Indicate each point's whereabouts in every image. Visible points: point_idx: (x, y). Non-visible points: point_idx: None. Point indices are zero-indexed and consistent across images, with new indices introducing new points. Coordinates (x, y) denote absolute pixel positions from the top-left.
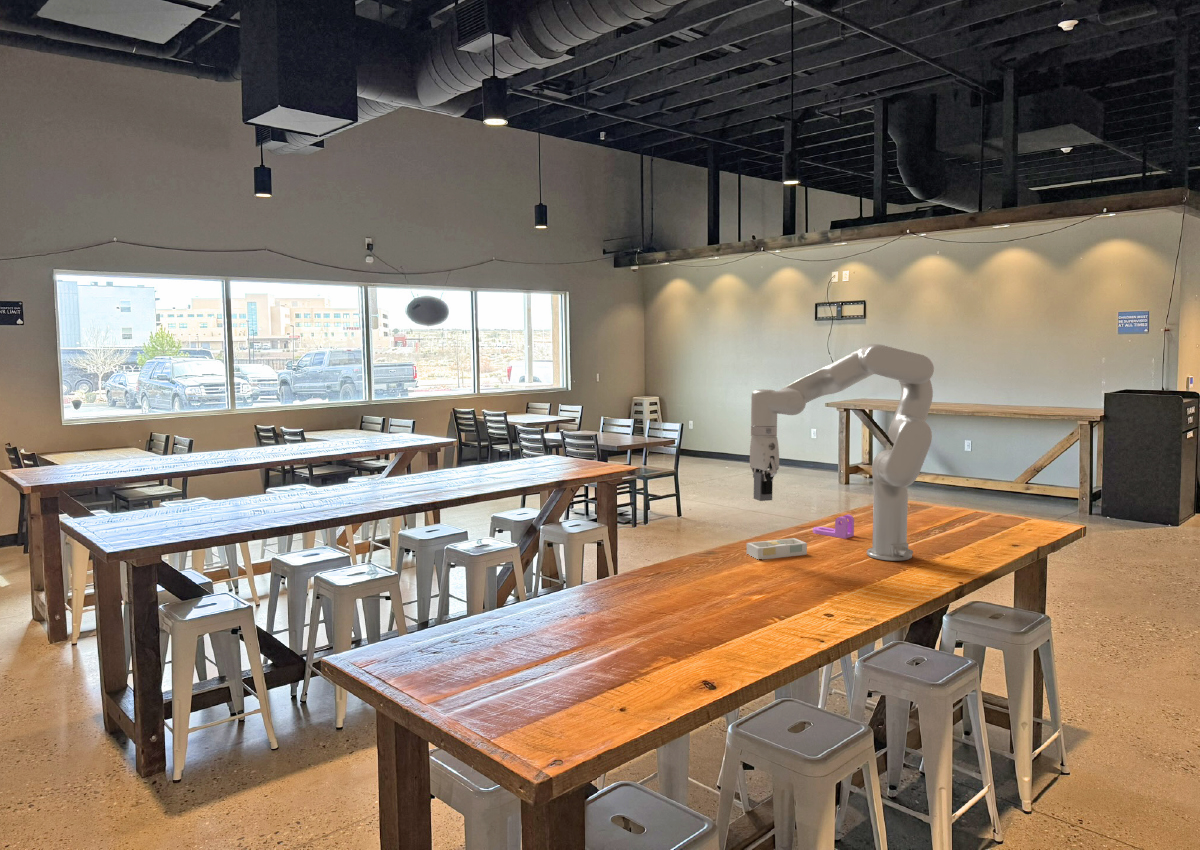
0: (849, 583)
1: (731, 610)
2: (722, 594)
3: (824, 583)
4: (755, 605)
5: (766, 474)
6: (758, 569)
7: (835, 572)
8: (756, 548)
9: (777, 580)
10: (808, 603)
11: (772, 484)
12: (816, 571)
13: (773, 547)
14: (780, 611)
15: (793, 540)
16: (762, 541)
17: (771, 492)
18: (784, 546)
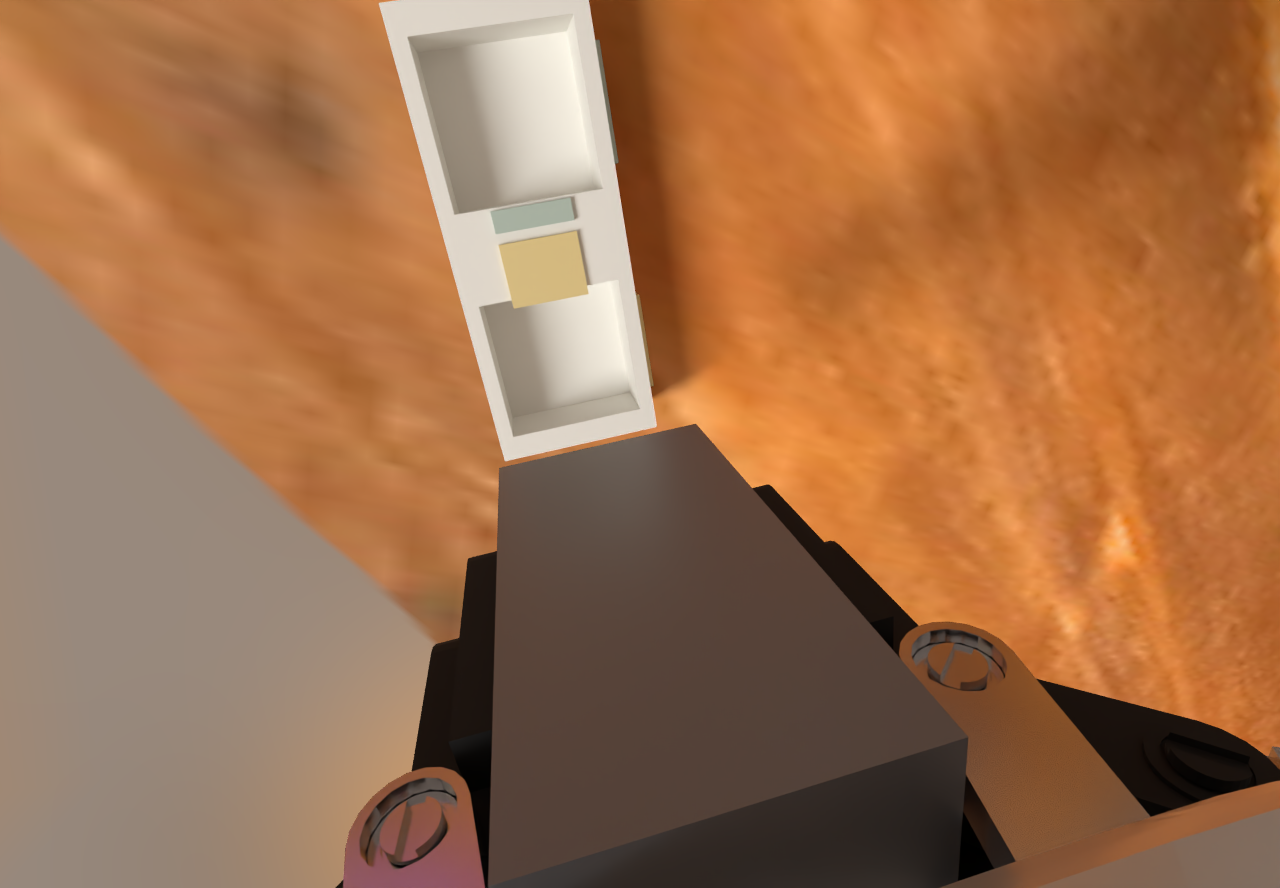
0: (1187, 61)
1: (1177, 641)
2: (1043, 645)
3: (1124, 203)
4: (1182, 567)
5: (944, 873)
6: (809, 447)
7: (1006, 28)
8: (638, 428)
9: (992, 411)
10: (1267, 387)
11: (794, 540)
12: (946, 143)
13: (638, 310)
14: (1266, 506)
15: (417, 37)
16: (474, 340)
17: (776, 498)
18: (622, 215)
